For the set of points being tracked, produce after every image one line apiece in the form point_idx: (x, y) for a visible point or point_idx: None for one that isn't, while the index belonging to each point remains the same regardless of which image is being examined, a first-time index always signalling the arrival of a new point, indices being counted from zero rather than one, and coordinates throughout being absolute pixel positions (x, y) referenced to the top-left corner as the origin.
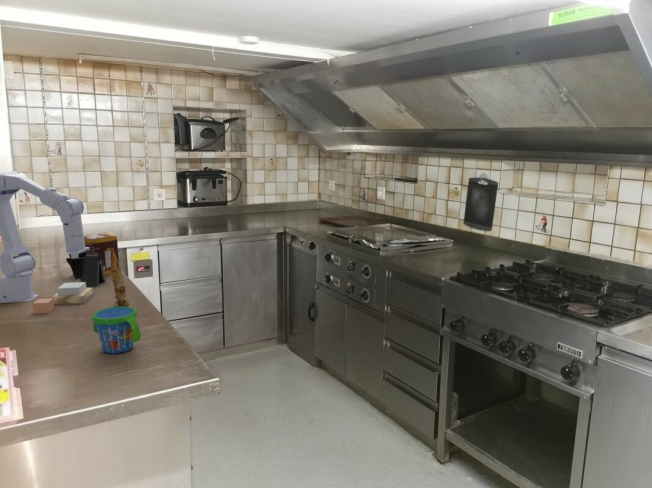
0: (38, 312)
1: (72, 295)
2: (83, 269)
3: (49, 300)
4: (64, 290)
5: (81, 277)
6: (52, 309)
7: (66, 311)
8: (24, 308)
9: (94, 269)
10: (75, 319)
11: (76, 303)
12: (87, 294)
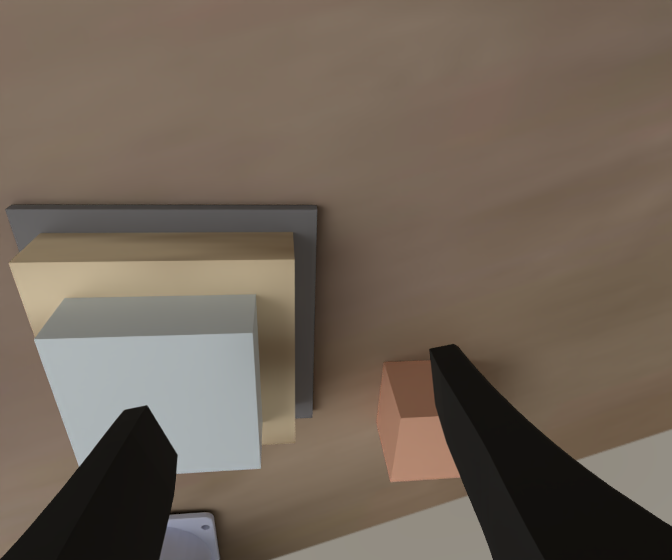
0: None
1: (274, 339)
2: (128, 449)
3: None
4: (258, 415)
5: (462, 355)
6: (415, 369)
7: (437, 289)
8: (320, 491)
9: None
10: (642, 181)
11: (299, 279)
12: (178, 250)
